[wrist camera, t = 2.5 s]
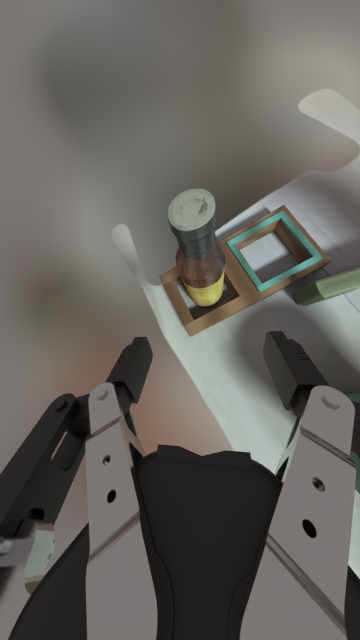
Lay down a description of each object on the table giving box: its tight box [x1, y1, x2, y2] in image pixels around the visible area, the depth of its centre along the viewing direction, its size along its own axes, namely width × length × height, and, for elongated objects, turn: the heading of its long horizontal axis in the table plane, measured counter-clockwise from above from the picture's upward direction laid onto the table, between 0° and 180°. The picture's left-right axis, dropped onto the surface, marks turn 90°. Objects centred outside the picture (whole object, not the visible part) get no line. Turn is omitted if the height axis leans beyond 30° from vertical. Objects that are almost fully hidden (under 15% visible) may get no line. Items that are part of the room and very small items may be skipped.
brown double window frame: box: [160, 205, 332, 336], centre depth 29 cm, size 26×13×3 cm, turn 117°
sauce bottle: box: [167, 189, 225, 307], centre depth 22 cm, size 6×6×20 cm
